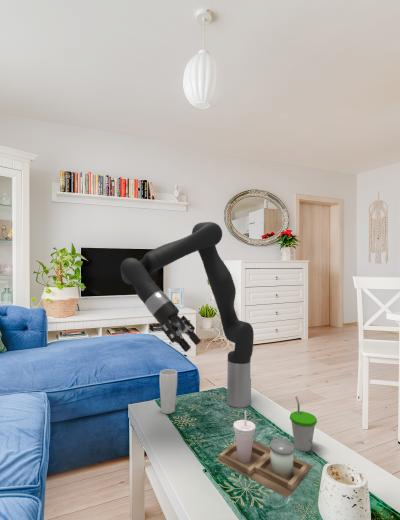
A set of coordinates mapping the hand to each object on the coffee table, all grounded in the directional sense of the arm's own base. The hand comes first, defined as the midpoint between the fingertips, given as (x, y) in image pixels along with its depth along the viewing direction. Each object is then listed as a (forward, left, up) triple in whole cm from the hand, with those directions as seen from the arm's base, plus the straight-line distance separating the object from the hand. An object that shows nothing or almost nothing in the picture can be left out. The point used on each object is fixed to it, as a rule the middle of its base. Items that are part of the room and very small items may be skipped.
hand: (193, 346), depth 102 cm
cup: (-20, +28, -31) cm, 46 cm away
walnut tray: (-5, +23, -31) cm, 38 cm away
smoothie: (-3, +18, -30) cm, 35 cm away
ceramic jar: (-5, +28, -29) cm, 41 cm away
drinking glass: (-10, -21, -31) cm, 39 cm away
